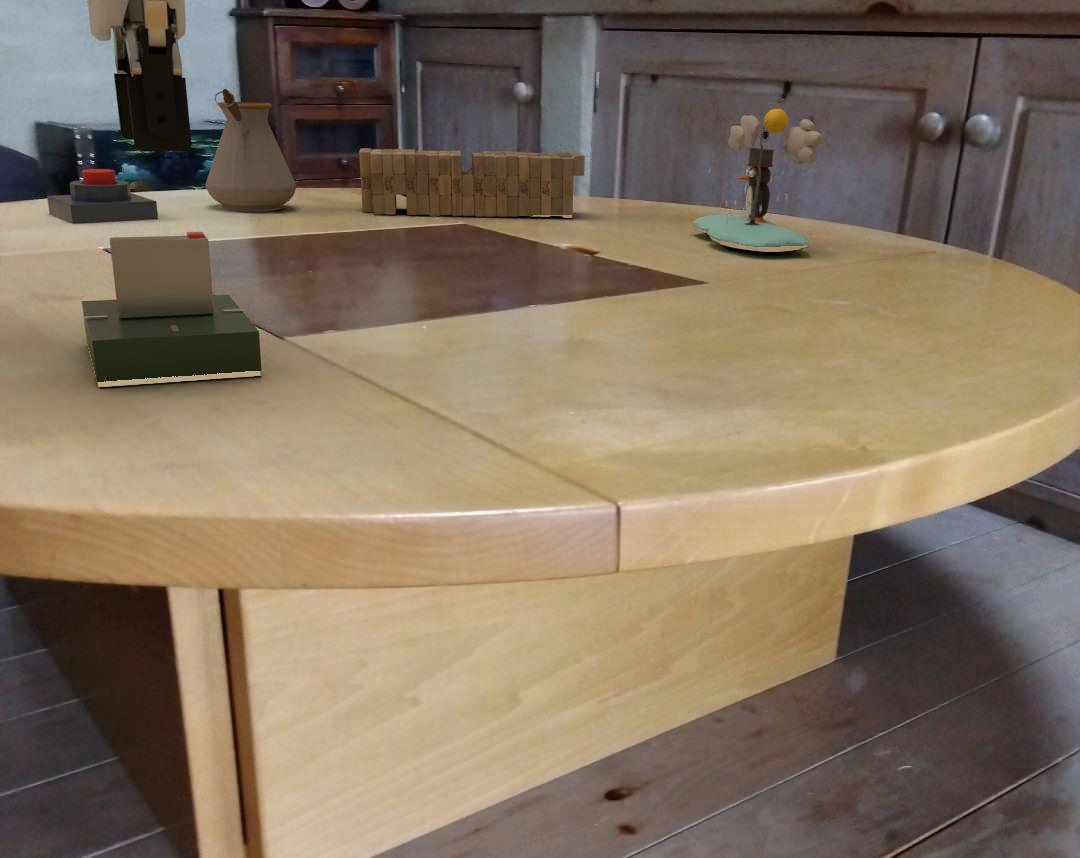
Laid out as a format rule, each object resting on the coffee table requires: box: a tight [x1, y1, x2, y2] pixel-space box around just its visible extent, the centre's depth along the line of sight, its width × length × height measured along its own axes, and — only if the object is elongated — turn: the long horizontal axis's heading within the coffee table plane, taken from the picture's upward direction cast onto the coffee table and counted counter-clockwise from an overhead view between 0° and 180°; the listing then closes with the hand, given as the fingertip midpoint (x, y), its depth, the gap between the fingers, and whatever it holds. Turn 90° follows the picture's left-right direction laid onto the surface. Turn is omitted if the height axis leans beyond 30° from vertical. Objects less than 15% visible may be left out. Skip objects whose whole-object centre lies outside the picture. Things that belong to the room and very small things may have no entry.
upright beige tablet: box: [109, 231, 214, 319], centre depth 74 cm, size 6×1×5 cm, turn 113°
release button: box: [81, 168, 117, 185], centre depth 133 cm, size 4×4×2 cm
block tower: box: [358, 147, 586, 217], centre depth 149 cm, size 8×8×29 cm
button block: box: [46, 179, 159, 225], centre depth 134 cm, size 10×9×4 cm
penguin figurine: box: [691, 108, 823, 247], centre depth 130 cm, size 20×11×15 cm, turn 6°
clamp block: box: [81, 294, 263, 383], centre depth 75 cm, size 10×12×3 cm
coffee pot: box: [205, 88, 297, 213], centre depth 140 cm, size 21×12×15 cm, turn 5°
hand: (154, 144), depth 70 cm, fingers open, 9 cm apart
